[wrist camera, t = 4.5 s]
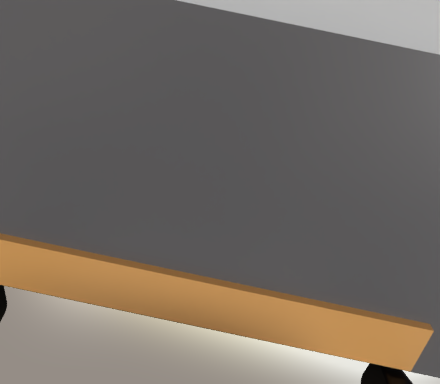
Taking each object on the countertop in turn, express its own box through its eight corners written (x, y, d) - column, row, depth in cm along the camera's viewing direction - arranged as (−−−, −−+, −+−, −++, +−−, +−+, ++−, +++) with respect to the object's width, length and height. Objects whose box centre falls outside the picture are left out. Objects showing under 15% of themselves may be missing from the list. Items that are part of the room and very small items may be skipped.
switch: (580, 84, 7) (643, 96, 6) (429, 344, 9) (451, 387, 8) (-83, -53, 7) (-148, -67, 6) (-43, 245, 9) (-83, 274, 8)
